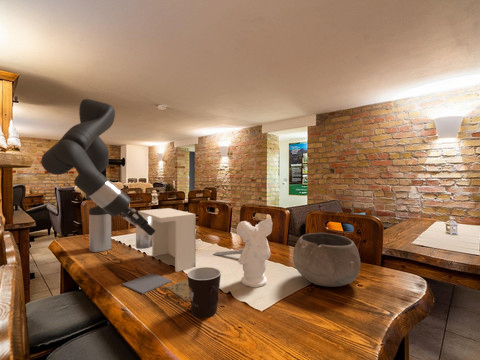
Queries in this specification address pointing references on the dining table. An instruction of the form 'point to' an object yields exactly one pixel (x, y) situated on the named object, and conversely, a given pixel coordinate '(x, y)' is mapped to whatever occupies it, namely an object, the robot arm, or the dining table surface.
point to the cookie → (180, 289)
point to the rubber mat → (146, 283)
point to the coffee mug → (204, 291)
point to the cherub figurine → (254, 251)
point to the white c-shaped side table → (174, 235)
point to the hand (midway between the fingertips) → (149, 231)
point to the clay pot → (327, 259)
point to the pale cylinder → (143, 235)
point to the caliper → (229, 252)
